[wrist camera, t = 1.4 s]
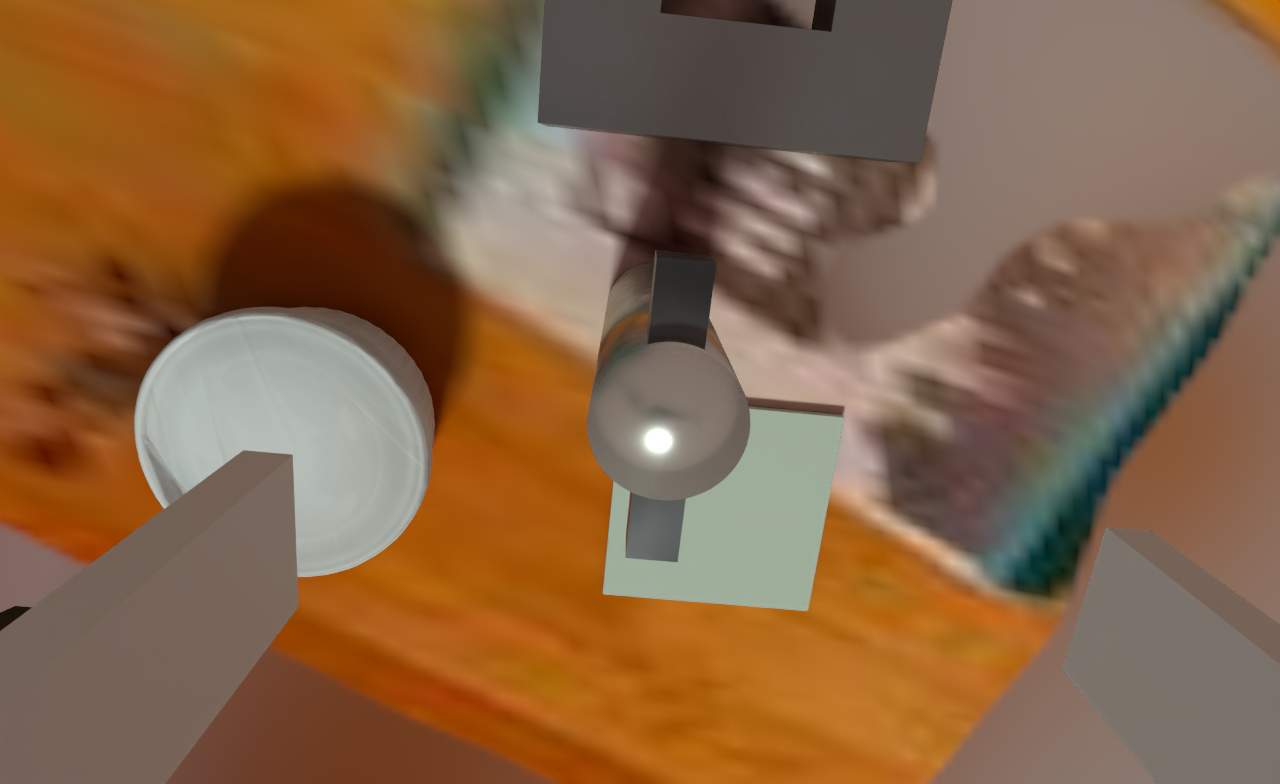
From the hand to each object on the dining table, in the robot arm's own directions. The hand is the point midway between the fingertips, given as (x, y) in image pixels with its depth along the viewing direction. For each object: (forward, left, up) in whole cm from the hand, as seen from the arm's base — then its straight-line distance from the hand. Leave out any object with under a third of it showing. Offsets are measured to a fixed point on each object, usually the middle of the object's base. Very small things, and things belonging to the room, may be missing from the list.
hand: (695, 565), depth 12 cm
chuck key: (0, 0, -22) cm, 22 cm away
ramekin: (-14, -6, -22) cm, 27 cm away
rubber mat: (+4, -9, -22) cm, 24 cm away
